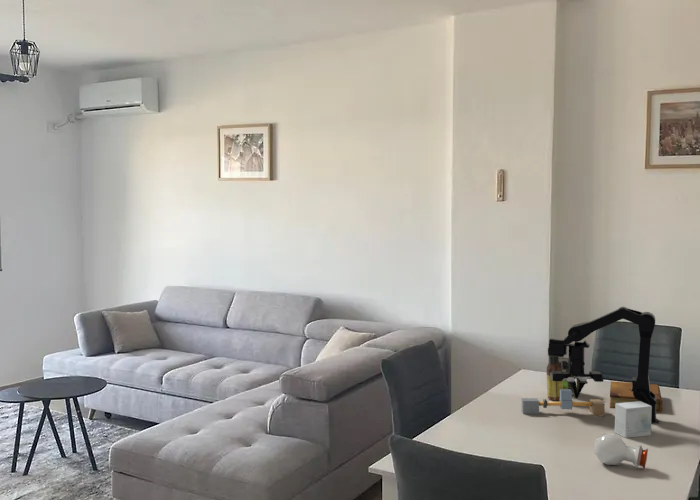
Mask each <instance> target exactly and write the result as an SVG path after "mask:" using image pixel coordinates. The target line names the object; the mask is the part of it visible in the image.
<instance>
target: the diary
mask: <svg viewBox="0 0 700 500" xmlns="http://www.w3.org/2000/svg"><path fill="white" fill-rule="evenodd" d="M631 389H632V382H626V381H625V382H624V381H615V380H614V381H612V380H611V381H610V388H609V398H610V399H609V409H615V404H616V403H625V402H636V401H639V400H637V399H636V398H635V397H634V395H633V391H631ZM650 390H651V391H652V392H653V393H654V394H655V395H656V413H662V412H663V399H662V395H661V394H662V393H661V390H660V386H659V385H658V384H653V383H650Z"/></svg>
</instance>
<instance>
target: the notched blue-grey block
mask: <svg viewBox="0 0 700 500" xmlns="http://www.w3.org/2000/svg"><path fill="white" fill-rule="evenodd" d="M559 402H561V406H559V408H560V409H561V410H573V406H572V402H573V394H572V391H571V389H560V401H559Z"/></svg>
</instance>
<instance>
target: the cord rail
mask: <svg viewBox="0 0 700 500" xmlns="http://www.w3.org/2000/svg"><path fill="white" fill-rule="evenodd" d="M605 405H606V404H605V403H604V401H602V399H591V398H590V399H589V401H572V407H589V412H590V413H591V414H592V416H595V417H596V416H597V417H599V416H605V410H606V409H605V407H606V406H605ZM560 406H561V402H560V401H547V399H545V398H544V399H542V401H540V400H539V398H535V397H529V398H528V397H524V398H523V397H522V398H521V412H522V414H523V415H540V407H543V409H547V407H560Z"/></svg>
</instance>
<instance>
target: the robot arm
mask: <svg viewBox="0 0 700 500" xmlns="http://www.w3.org/2000/svg"><path fill="white" fill-rule="evenodd" d="M621 320H626V321H629V322H631V323H633V324H636V325H638V331H639V332H638V333H639V351H638V365H637V375H636V377H635V376H632V379H631V383H632V389H631V391H633V395H634V397H635V398H636V399H637V400H639V401H641V402H643V403H646V404H648V405H650V406H652V416H651V423H660V420H659V419H658V418H657V412H656V395H655V394H654V393H653V392H652V391H651V390H650V384H651V383H650V377H649V368H650V354H651V353H650V351H651V343H652V342H651V340H652V336H653V333H654V329H655V326H656V317H655V315H654V314H653V313H652V312H649V311H643V312H642V311H639V310H635V309H632V308H628V307H625V306H620V307H619V308H618V309H616V310H613V311H611V312H609V313H606V314H604V315H601V316H599V317H597V318H595V319H592V320H590V321H585V322H580V323H577V324H573V325H572V326H571V327H570V328H569V329H568V332H567V336H565V337H564V338H563V339H559V338H558V339H556V338H549V339H548V340H549V341H548V348H547V356H548V357H549V356H554V357H561V358H565V356H566V355H568V358H569V359H568V363H567V361H561V369H562V370H566V372H567V373H569V374H564V373H562V372H561V371H551V372H550V378H551V379H552V381H562V380H563V378H566V379H565V380H566V381H567V383H569V384H570V385H571V387H572V390H573V393H574V394H573V396H574V399H576V400H577V399H578V398H579V396H580V394H581V393H582V390H583V388H584V387H585V385H587V384H588V381H587V380H588V379H589V380H590V379H592V380H593V381H594V382H597V383H601V382H602V383H603V382H604V375H603V374H602V372H600V371H599V370H598V371H597V370H596V371H594V370H592V371H591V370H590V371H589V372H588V373H585V349H586V348H587V349H589V347H591V346H590V344H589V343H588V342H587V340H585V338H587V337H588V336H589V335H591V334H592V333H594V332H596V331H597V330H600V329H602V328H605V327H608V326H609V325H611V324H615V323H616V322H618V321H621ZM583 339H584V340H583ZM582 340H583V341H582ZM575 380H576V381H575Z"/></svg>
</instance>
